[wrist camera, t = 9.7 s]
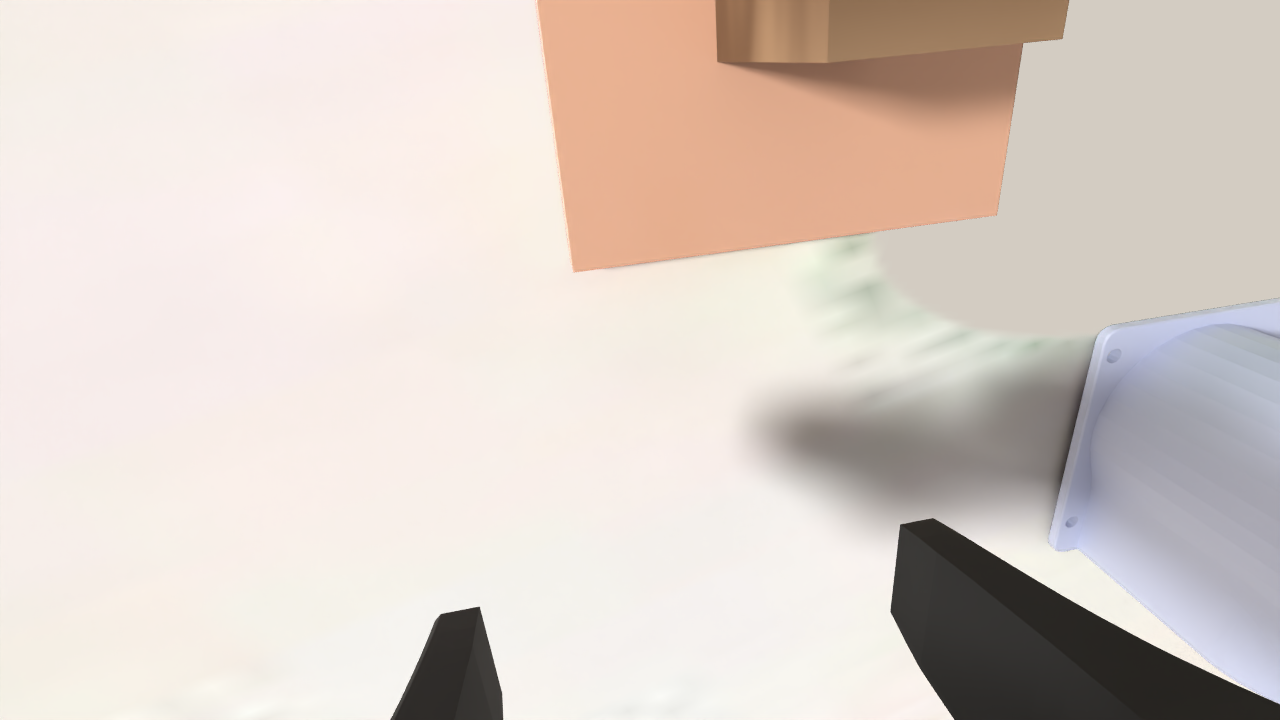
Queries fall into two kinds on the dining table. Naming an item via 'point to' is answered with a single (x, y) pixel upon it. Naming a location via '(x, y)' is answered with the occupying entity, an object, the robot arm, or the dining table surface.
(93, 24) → the dining table surface
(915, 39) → the walnut block
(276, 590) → the dining table surface
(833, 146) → the terracotta tile
